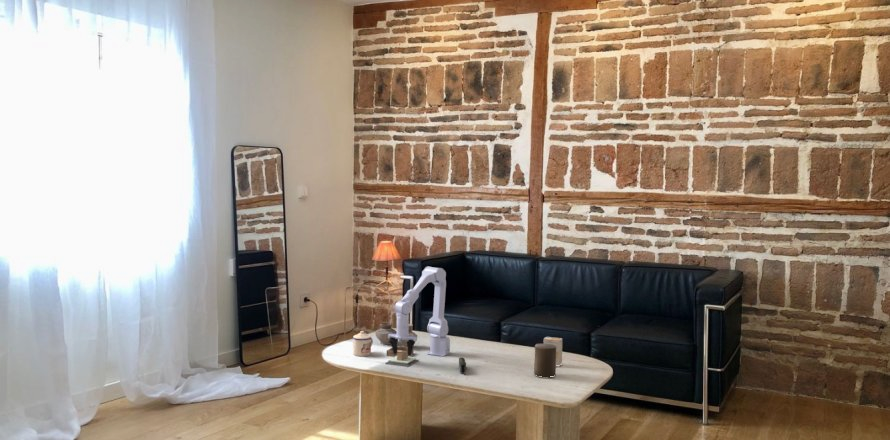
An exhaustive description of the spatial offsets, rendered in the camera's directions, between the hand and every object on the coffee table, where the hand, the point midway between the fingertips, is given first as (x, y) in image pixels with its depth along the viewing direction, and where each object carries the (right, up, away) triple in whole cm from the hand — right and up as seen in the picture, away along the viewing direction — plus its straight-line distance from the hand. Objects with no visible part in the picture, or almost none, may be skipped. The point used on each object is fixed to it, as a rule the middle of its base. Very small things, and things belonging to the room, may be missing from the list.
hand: (402, 354), depth 357 cm
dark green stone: (+29, -6, -13) cm, 32 cm away
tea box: (-2, -3, +14) cm, 15 cm away
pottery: (-5, -1, +33) cm, 33 cm away
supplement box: (+72, -5, -1) cm, 72 cm away
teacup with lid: (-20, -3, +15) cm, 25 cm away
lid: (0, -3, 0) cm, 3 cm away
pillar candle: (+66, -6, -18) cm, 69 cm away
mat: (0, -4, 0) cm, 4 cm away
